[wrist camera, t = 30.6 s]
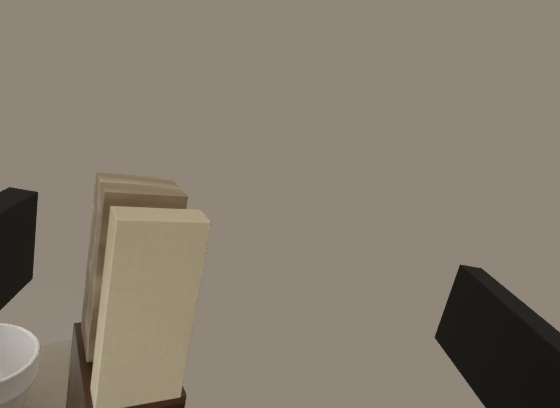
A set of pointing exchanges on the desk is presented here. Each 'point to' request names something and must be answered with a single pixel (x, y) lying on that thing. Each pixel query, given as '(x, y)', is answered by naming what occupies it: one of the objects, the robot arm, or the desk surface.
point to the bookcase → (106, 195)
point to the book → (147, 304)
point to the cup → (17, 364)
